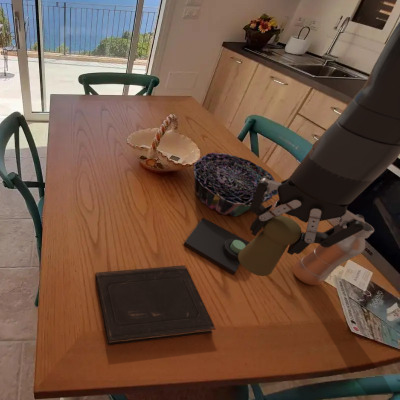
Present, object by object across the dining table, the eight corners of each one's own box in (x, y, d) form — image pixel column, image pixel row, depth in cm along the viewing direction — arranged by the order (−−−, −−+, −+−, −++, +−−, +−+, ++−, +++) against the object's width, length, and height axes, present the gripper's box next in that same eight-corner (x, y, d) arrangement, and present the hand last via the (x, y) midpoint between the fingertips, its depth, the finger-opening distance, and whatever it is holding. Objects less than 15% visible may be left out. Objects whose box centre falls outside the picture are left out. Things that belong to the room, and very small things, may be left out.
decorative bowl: (272, 199, 94) (289, 176, 88) (248, 238, 78) (267, 213, 72) (203, 167, 107) (214, 145, 100) (170, 195, 90) (181, 170, 84)
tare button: (244, 248, 72) (247, 244, 71) (240, 255, 70) (243, 251, 69) (232, 241, 74) (235, 237, 72) (228, 248, 72) (231, 244, 70)
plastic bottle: (294, 261, 73) (348, 209, 59) (322, 279, 69) (386, 228, 56) (285, 274, 70) (339, 222, 56) (313, 293, 66) (379, 243, 53)
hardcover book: (211, 333, 58) (215, 328, 56) (107, 345, 55) (109, 341, 53) (182, 269, 69) (184, 263, 68) (94, 276, 66) (95, 271, 65)
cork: (275, 280, 48) (314, 241, 41) (239, 270, 49) (271, 231, 42) (269, 254, 52) (303, 214, 45) (236, 245, 54) (264, 206, 46)
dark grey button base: (250, 246, 76) (255, 240, 74) (235, 276, 69) (240, 270, 66) (201, 220, 83) (204, 213, 81) (183, 245, 75) (186, 238, 73)
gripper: (277, 150, 36) (223, 232, 47) (418, 201, 30) (316, 281, 41) (288, 131, 40) (236, 210, 52) (412, 172, 34) (322, 251, 46)
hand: (272, 241), depth 46 cm, fingers closed on cork, 5 cm apart
